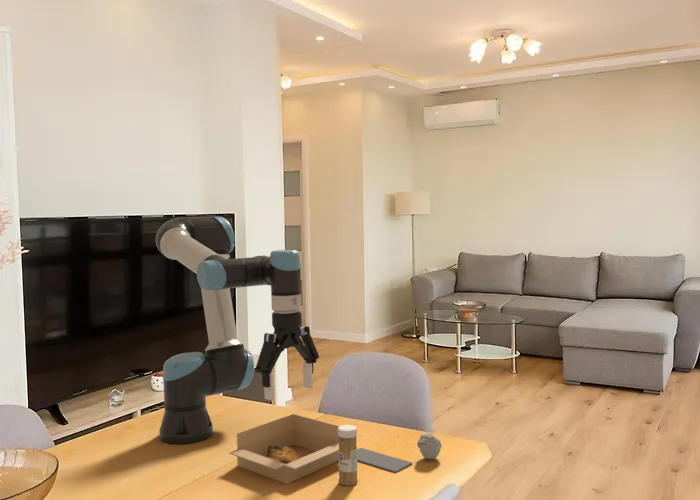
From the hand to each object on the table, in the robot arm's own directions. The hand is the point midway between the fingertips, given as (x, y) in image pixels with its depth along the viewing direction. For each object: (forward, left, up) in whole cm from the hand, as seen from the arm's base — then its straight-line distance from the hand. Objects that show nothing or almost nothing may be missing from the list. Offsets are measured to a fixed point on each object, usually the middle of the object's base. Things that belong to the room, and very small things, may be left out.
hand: (289, 393), depth 171 cm
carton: (+1, -2, -18) cm, 18 cm away
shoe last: (0, 0, -19) cm, 19 cm away
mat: (+17, +15, -18) cm, 29 cm away
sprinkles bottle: (+20, 0, -18) cm, 27 cm away
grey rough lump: (+27, +24, -18) cm, 40 cm away
